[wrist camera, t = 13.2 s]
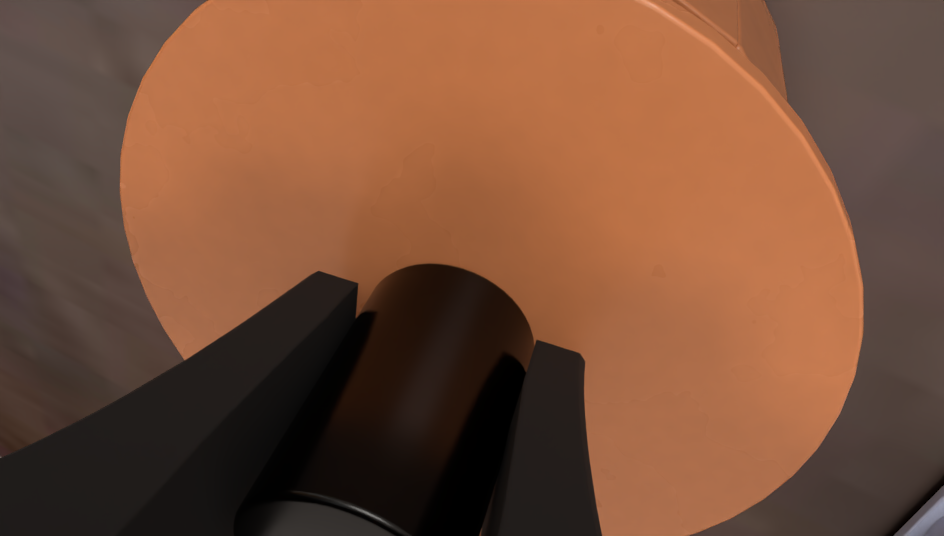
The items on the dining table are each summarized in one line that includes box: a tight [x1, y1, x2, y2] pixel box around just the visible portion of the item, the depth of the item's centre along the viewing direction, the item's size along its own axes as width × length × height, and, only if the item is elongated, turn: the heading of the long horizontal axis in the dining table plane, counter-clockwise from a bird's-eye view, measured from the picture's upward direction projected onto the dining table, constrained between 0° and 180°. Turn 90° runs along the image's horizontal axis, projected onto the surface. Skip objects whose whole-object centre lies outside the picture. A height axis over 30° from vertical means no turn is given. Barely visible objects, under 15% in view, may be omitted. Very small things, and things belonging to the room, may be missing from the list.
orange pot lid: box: [120, 0, 864, 536], centre depth 10 cm, size 11×11×5 cm
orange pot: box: [672, 0, 788, 103], centre depth 16 cm, size 10×10×6 cm
